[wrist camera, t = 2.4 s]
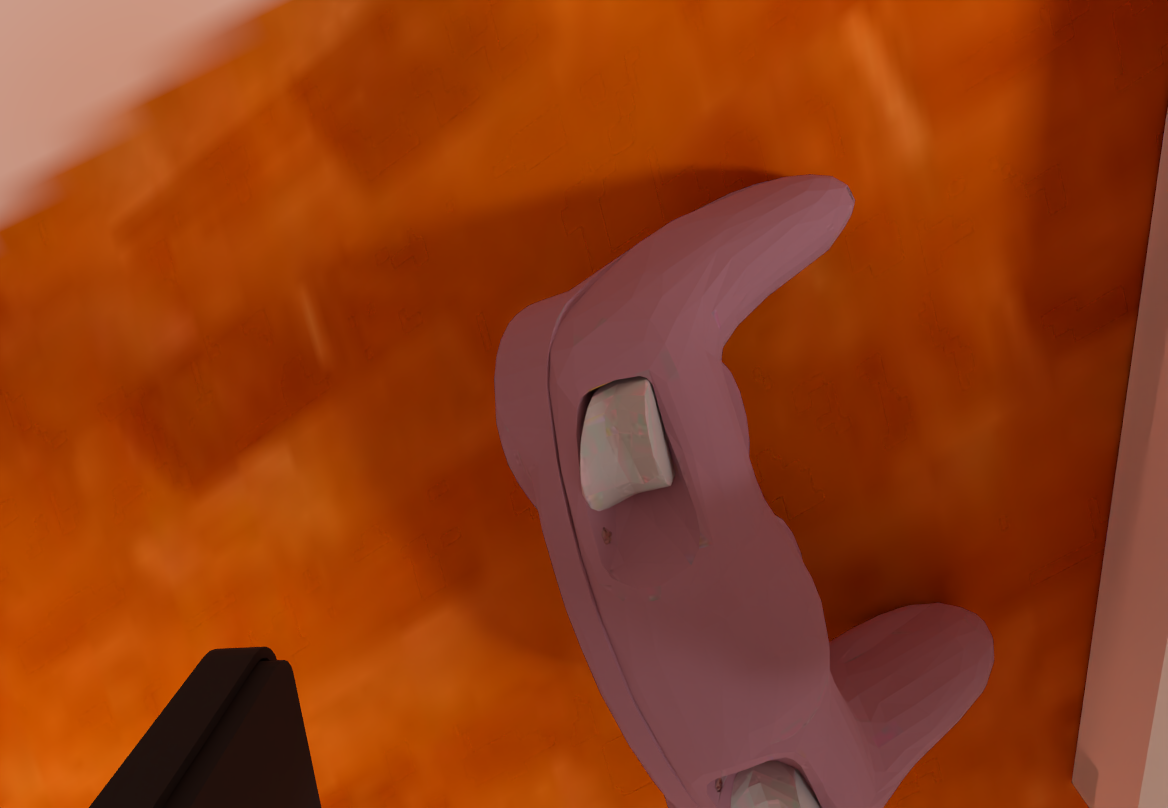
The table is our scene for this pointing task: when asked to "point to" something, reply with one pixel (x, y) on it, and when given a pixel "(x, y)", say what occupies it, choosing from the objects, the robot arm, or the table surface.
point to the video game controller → (712, 528)
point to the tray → (1135, 571)
